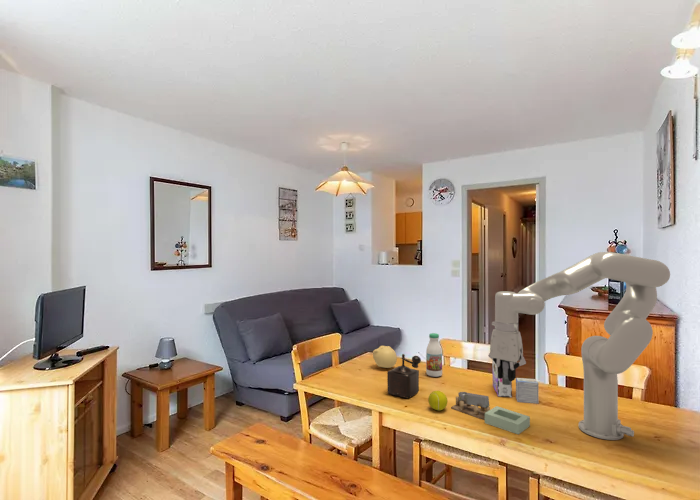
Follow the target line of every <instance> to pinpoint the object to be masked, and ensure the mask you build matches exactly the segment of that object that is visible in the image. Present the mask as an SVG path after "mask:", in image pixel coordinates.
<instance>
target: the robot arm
mask: <svg viewBox="0 0 700 500" xmlns="http://www.w3.org/2000/svg"><path fill="white" fill-rule="evenodd" d="M670 278H671V271H670V268H669V267H668V266H667V265H666V264H665V263H663V262H662V261H659V260H658V259H657V260H656V259H650V258H644V257H640V256H635V255H628V254H623V253H618V252H612V251H600V252H596V253H593V254H591V255H590V256H588V257H585V258H583V259H582V260H580V261H578V262H576V263H574V264H573V265H571V266H568V267H566V268H565V269H562V270H561V271H559V272H556V273H554V274H552V275H550V276H547V277H545V278H542V279H540V280H537V281H536V282H533V283H531V284H530V285H528V286H526V287H524V288H523V289H520V290H519V291H518V292H517V293H516V292H515V291H505V290H504V291H503V290H502V291H497V292H495V297H494V304H495V305H494V321H492V322H491V326H494V329H492V331H491V336H490V346H489V347H490V348H489V353H488V358H490V359H491V360H493V361H494V362H495V363H496V366H497V367H498V375H499V379H501V378H502V360H505V361H510V370H509V381H512V382H513V381H516V378H517V371H516V370H517V369H518V368H519V367H521V366H524V365H526V364H527V361H526V359H525V356H524V353H523V352H524V348H523V339H522V336H521V332H520V331H519V314H524V315H525V314H526V315H539V314H541V313H542V312H543V311H544V309H545V304H546V303H545V302H547V301H548V300H551V299H553V298H556V297H557V298H558V297H561V296H562V297H563V296H570V295H573V294H577V293H579V292H581V291H583V290H585V289H587V288H589V287H591V286H593V285H594V284H597V283H599V282H600V281H602V280H605V279H609V280H615V281H618V282H621V283H625V292H624V295H623V297H621V299H620V301H619V302H618V304H617V305H616V306H615V307H614V308H613V309H612V311H611V312H610V313H609V314H608V315H607V317H606V319H605V320H604V323H603V327H604V328H603V329H604V330H605V332H606V333H607V334H608V335H609V337H608V338H607V337H606V336H601V335H592V336H589V337H587V338H586V339H585V340H584V341H583V343H582V345H581V348H580V350H581V359H582V367H583V420H579V422H578V429H579V430H580V431H582V432H583V433H585V434H587V435H589V436H592V437H594V438H597V439H601V440H608V441H619V440H622V439H623V438H624V436H625V435H626V436H629V437H635V436H634V435H635V430H632V427H629V426H626V425H623V424H622V422H621V419H619V418H618V415H619V413H618V412H619V408H618V407H619V401H618V400H619V399H618V397H619V396H618V395H619V393H618V391H619V390H618V389H619V388H618V387H619V384H618V383H619V382H618V381H619V378H618V375H619V374H622V373H624V372H626V371H627V370H628V369H630V367H631V366H633V364H634V363H635V362H636V360H638V358H639V357H640V355H642V353H643V351H645V349H646V348H647V347H648V346H649V344H650V343H651V341H652V339H653V333H654V332H653V331H654V330H653V326H652V324H651V323H650V322H649V321H648V320H647V319H648V317H649V315H650V314H651V312H652V311H653V310H654V308H655V306H656V304H657V300H658V291H657V288H659V287H662V286H664V285H665V284H667V283H668V282H669V280H670Z"/></svg>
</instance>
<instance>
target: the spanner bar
mask: <svg viewBox="0 0 700 500" xmlns="http://www.w3.org/2000/svg"><path fill="white" fill-rule="evenodd" d="M457 393H458V397H459V403H460V401H464V404H469V405H472V406H474V405H476V406H478V407H479V408H481V407H485V408H487V407H490V398H489V395H483V394H476V393H471V392H466V391H459V392H457Z"/></svg>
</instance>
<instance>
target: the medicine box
mask: <svg viewBox="0 0 700 500" xmlns="http://www.w3.org/2000/svg"><path fill="white" fill-rule="evenodd" d="M515 398H516V399H515V400H516V402H517V403H525V404H536V405H537V404H538V405H539V403H540V402H539V382H538V381H537V379H535V378H525V377H524V378H523V377H516V378H515Z"/></svg>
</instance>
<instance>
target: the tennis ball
mask: <svg viewBox="0 0 700 500" xmlns="http://www.w3.org/2000/svg"><path fill="white" fill-rule="evenodd" d="M428 395H429V396H428V397H427V398H428V399H427V400H428V404H429V406H430V407H431V409H433V410H435V411H443V410H444V409H445V408H447V405H448V397H447V395H446V394H445V393H444V392H443V391H442V390H441V391H440V390H434V391H432V392H430V394H428Z"/></svg>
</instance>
